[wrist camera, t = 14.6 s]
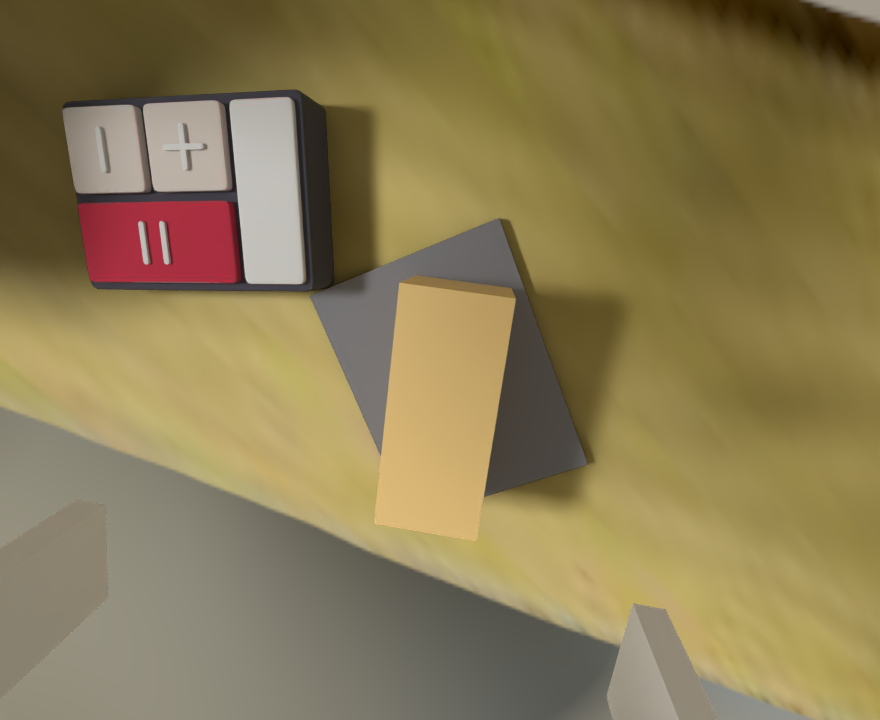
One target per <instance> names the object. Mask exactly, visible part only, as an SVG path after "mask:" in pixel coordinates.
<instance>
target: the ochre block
mask: <svg viewBox="0 0 880 720" xmlns="http://www.w3.org/2000/svg"><path fill="white" fill-rule="evenodd" d="M515 302H516V298H515V295H514V293H513V291H512V288H508V287H500V286H493V285H486V284H478V283H471V282H464V281H456V280H449V279H441V278H434V277H427V276H419V275H415V276H413V277H411V278H409V279H406V280H404V281H402V282H400V283H399V290H398V300H397V309H396V319H395V328H394V338H393V347H392V357H391V366H390V376H389V385H388V395H387V404H386V414H385V423H384V433H383V442H382V452H381V461H380V471H379V480H378V490H377V499H376V509H375V518H374V524H378V525H384V526H390V527H396V528H401V529H407V530H413V531H419V532H425V533H431V534H437V535H442V536H448V537H454V538H460V539H466V540H472V541H477V535H478V529H479V523H480V517H481V510H482V504H483V498H484V492H485V486H486V480H487V474H488V467H489V461H490V455H491V449H492V443H493V437H494V431H495V424H496V418H497V412H498V406H499V400H500V394H501V388H502V381H503V375H504V369H505V363H506V357H507V351H508V345H509V338H510V332H511V326H512V320H513V314H514V308H515Z"/></svg>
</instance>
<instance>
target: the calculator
mask: <svg viewBox="0 0 880 720" xmlns="http://www.w3.org/2000/svg"><path fill="white" fill-rule="evenodd" d="M62 113H63V121H64V128H65V134H66V140H67V146H68V152H69V158H70V164H71V170H72V176H73V182H74V187H75V190H76V193H77V199H78V212H79V218H80V225H81V231H82V237H83V243H84V249H85V255H86V261H87V267H88V273H89V277H90V280H91V283H92V285H93V286H94V287H95V288H97V289H124V290H217V291H313V290H317V289H321V288H325V287H329V286H331V285H333V283H334V263H333V244H332V226H331V207H330V188H329V169H328V150H327V131H326V114H325V110H324V108H323V107H322V106H321V105H319V104H318V103H316V102H315V101H313V100H312V99H311V98H309V97H308V96H306V95H305V94H303V93H302V92H300V91H298V90H276V91H257V92H238V93H220V94H201V95H182V96H163V97H144V98H125V99H107V100H88V101H70V102H66V103H65V104H64V105H63V111H62Z"/></svg>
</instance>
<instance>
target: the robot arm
mask: <svg viewBox="0 0 880 720" xmlns="http://www.w3.org/2000/svg"><path fill="white" fill-rule="evenodd" d="M106 534H107V533H106V505H102V504H97V503H92V502H87V501H81V500H76V501H74V502H73V503H71V504H69V505H68V506H66V507H65V508H63V509H62V510H60V511H58V512H57V513H55V514H54V515H52V516H50V517H49V518H48V519H46V520H44V521H43V522H41V523H39V524H38V525H36V526H35V527H33V528H31V529H30V530H28V531H27V532H25V533H24V534H22V535H20V536H19V537H17V538H16V539H14V540H12V541H11V542H9V543H8V544H6V545H5V546H3V547H1V548H0V699H1V698H2V697H3V696H4V695H5V694H6V693H7V692H8V691H9V690H11V688H13V687H14V686H15V685H16V684H17V683H18V682H19V681H20V680H21V679H22V678H23V677H24V676H25V675H27V673H29V672H30V671H31V670H32V669H33V668H34V667H35V666H36V665H37V664H38V663H39V662H40V661H41V660H42V659H44V657H45V656H47V655H48V654H49V653H50V652H51V651H52V650H53V649H54V648H55V647H56V646H57V645H58V644H59V643H60V642H62V641H63V640H64V639H65V638H66V637H67V636H68V635H69V634H70V633H71V632H72V631H73V630H74V629H75V628H76V627H77V626H79V625H80V624H81V623H82V622H83V621H84V620H85V619H86V618H87V617H88V616H89V615H90V614H91V613H92V612H93V611H94V610H95V609H97V607H99V606H100V605H101V604H102V603H103V602H104V601H105V600H106V599H107V598H108V577H107V575H108V574H107V537H106V536H107V535H106ZM607 699H608V703H609V707H610V711H611V715H612V719H613V720H718V718H717V716H716V714H715V712H714V709H713V707H712V705H711V703H710V701H709V699H708V697H707V695H706V693H705V691H704V688H703V686H702V684H701V682H700V680H699V678H698V676H697V674H696V672H695V670H694V668H693V666H692V663H691V661H690V659H689V657H688V655H687V653H686V651H685V649H684V647H683V645H682V643H681V641H680V638H679V636H678V634H677V632H676V630H675V628H674V626H673V624H672V622H671V620H670V618H669V615H668V613H667V611H666V609H660V608H655V607H650V606H644V605H639V604H633V605H632V608H631V612H630V615H629V619H628V622H627V626H626V629H625V633H624V636H623V640H622V644H621V647H620V651H619V654H618V658H617V661H616V665H615V668H614V673H613V676H612V679H611V683H610V687H609V690H608V693H607Z"/></svg>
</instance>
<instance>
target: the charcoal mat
mask: <svg viewBox="0 0 880 720" xmlns="http://www.w3.org/2000/svg"><path fill="white" fill-rule="evenodd" d="M415 275H419V276H427V277H434V278H441V279H449V280H456V281H464V282H471V283H478V284H486V285H493V286H500V287H508V288H512V291H513V293H514V295H515V298H516V302H515V308H514V314H513V320H512V326H511V332H510V338H509V345H508V351H507V357H506V363H505V369H504V375H503V381H502V388H501V394H500V400H499V406H498V412H497V418H496V424H495V431H494V437H493V443H492V449H491V455H490V461H489V467H488V474H487V480H486V486H485V492H484V497H485V496H488V495H491V494H494V493H497V492H501V491H504V490H507V489H510V488H514V487H517V486H520V485H523V484H527V483H530V482H533V481H536V480H539V479H543V478H546V477H549V476H552V475H556V474H559V473H562V472H565V471H568V470H572V469H575V468H578V467H581V466H585V465H588V463H587V460H586V458H585V455H584V452H583V449H582V447H581V444H580V441H579V438H578V436H577V433H576V430H575V427H574V425H573V422H572V419H571V416H570V413H569V411H568V408H567V405H566V402H565V400H564V397H563V394H562V391H561V389H560V386H559V383H558V380H557V377H556V375H555V372H554V369H553V366H552V364H551V361H550V358H549V355H548V353H547V350H546V347H545V344H544V341H543V339H542V336H541V333H540V330H539V328H538V325H537V322H536V319H535V317H534V314H533V311H532V308H531V305H530V303H529V300H528V297H527V294H526V292H525V289H524V286H523V283H522V281H521V278H520V275H519V272H518V269H517V267H516V264H515V261H514V258H513V256H512V253H511V250H510V247H509V245H508V242H507V239H506V236H505V233H504V231H503V228H502V225H501V222H500V220H499V218H498V219H495V220H493V221H490V222H488V223H486V224H483V225H481V226H478V227H476V228H473V229H471V230H469V231H466V232H464V233H461V234H459V235H456V236H454V237H452V238H449V239H447V240H444V241H442V242H439V243H437V244H435V245H432V246H430V247H427V248H425V249H422V250H420V251H418V252H415V253H413V254H410V255H408V256H405V257H403V258H401V259H398V260H396V261H393V262H391V263H388V264H386V265H384V266H381V267H379V268H376V269H374V270H372V271H369V272H367V273H364V274H362V275H359V276H357V277H355V278H352V279H350V280H347V281H345V282H342V283H340V284H338V285H335V286H333V287H330V288H328V289H325V290H323V291H321V292H318V293H316V294H313V295H311V296H310V298H311V300H312V302H313V304H314V307H315V309H316V311H317V313H318V316H319V318H320V320H321V322H322V325H323V327H324V329H325V331H326V334H327V336H328V338H329V340H330V343H331V345H332V347H333V349H334V352H335V354H336V356H337V358H338V361H339V363H340V365H341V367H342V370H343V372H344V374H345V376H346V379H347V381H348V383H349V385H350V388H351V390H352V392H353V394H354V397H355V399H356V401H357V403H358V406H359V408H360V410H361V412H362V415H363V417H364V419H365V422H366V424H367V426H368V428H369V431H370V433H371V435H372V437H373V440H374V442H375V444H376V446H377V449H378V451H379V453H380V455H381V452H382V442H383V433H384V423H385V414H386V404H387V395H388V385H389V376H390V366H391V357H392V347H393V338H394V328H395V319H396V309H397V300H398V290H399V283H400V282H402V281H404V280H406V279H409V278H411V277H413V276H415Z"/></svg>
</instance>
